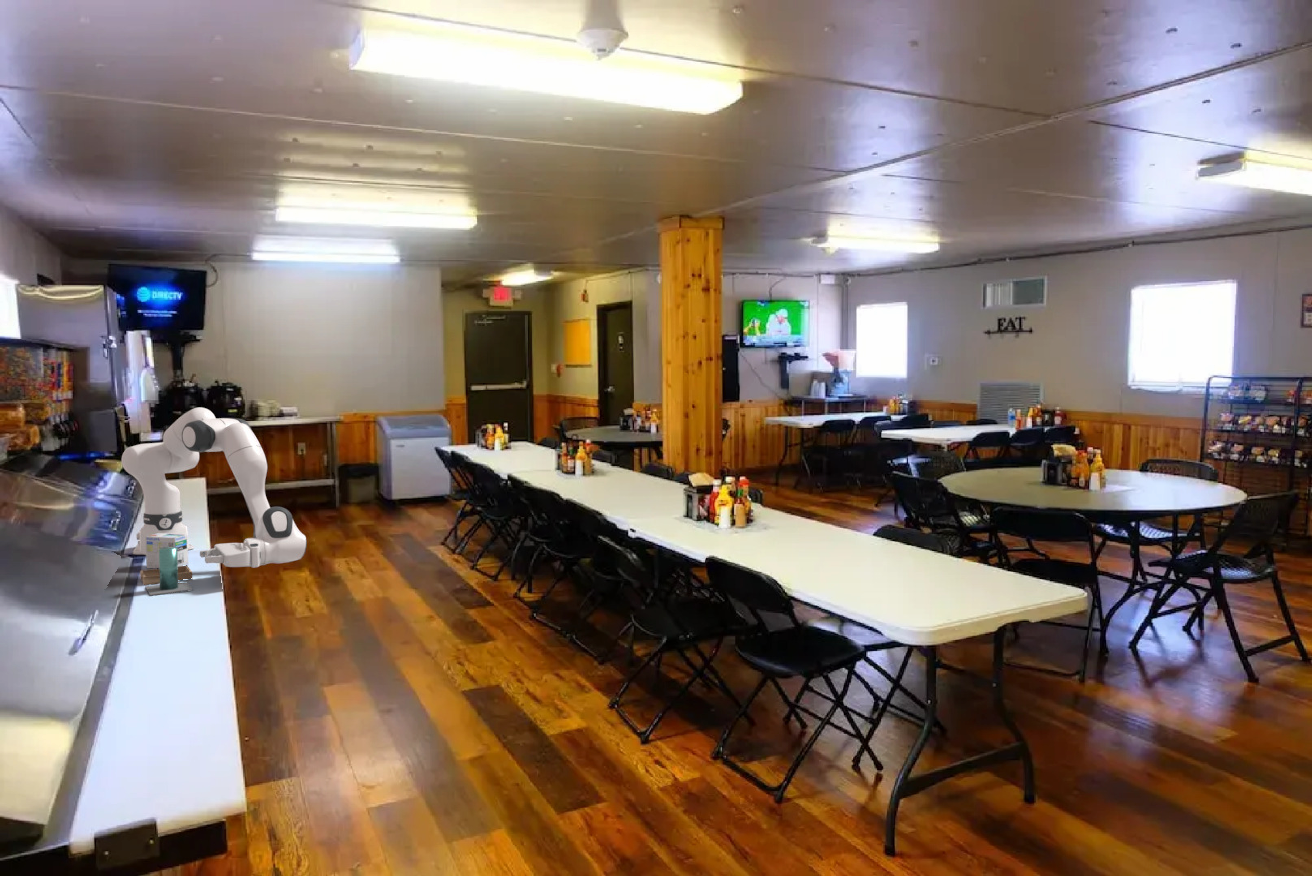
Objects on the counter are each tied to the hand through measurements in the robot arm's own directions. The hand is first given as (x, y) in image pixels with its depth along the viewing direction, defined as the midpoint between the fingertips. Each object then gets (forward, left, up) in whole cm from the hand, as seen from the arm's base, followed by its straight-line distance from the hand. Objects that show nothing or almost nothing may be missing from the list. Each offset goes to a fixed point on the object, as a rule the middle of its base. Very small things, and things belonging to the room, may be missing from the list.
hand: (202, 557), depth 261 cm
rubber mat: (0, -9, -9) cm, 13 cm away
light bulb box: (-32, -6, -9) cm, 34 cm away
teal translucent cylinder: (0, -9, -8) cm, 12 cm away
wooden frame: (-14, -8, -9) cm, 19 cm away
